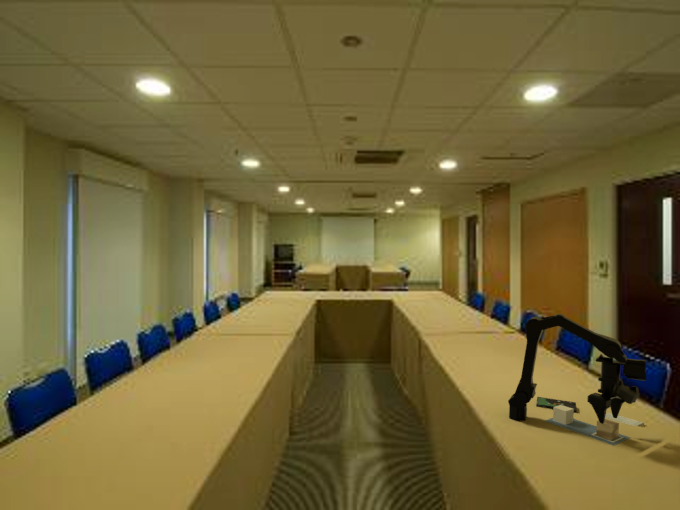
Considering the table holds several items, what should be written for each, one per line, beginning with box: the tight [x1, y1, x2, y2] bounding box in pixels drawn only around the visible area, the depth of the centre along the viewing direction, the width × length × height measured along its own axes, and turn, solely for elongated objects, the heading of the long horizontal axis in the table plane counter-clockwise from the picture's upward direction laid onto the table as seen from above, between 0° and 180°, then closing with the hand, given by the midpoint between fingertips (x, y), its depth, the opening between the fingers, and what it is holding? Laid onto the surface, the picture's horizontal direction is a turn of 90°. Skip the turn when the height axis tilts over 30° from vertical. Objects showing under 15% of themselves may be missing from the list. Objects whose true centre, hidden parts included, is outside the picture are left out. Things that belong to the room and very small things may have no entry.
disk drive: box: [536, 396, 577, 414], centre depth 195 cm, size 10×3×15 cm
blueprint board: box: [544, 417, 632, 447], centre depth 171 cm, size 12×25×1 cm, turn 35°
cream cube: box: [552, 405, 574, 425], centre depth 178 cm, size 5×5×5 cm
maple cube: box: [596, 418, 620, 440], centre depth 165 cm, size 5×5×5 cm
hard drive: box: [605, 412, 645, 427], centre depth 182 cm, size 2×8×12 cm
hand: (608, 420), depth 165 cm, fingers open, 9 cm apart
